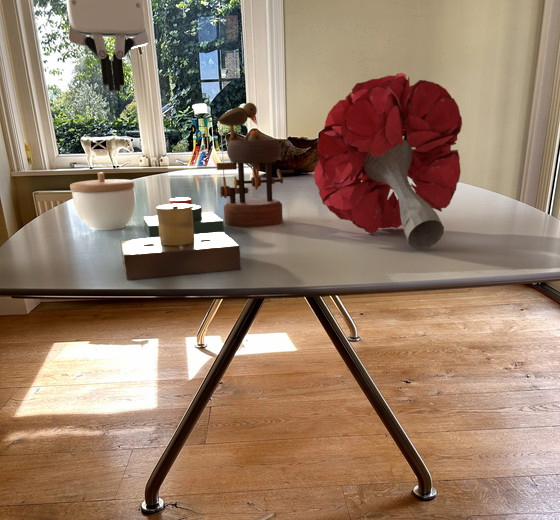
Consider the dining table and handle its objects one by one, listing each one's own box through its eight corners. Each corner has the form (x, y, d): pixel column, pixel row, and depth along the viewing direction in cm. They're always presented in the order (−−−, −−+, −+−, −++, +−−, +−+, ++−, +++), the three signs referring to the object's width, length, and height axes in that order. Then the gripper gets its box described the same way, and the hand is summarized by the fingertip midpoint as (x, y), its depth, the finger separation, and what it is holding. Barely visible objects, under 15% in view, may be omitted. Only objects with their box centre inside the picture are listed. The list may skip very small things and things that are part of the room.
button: (171, 212, 97) (170, 201, 96) (169, 209, 100) (168, 198, 100) (193, 210, 98) (192, 199, 97) (190, 207, 101) (189, 197, 100)
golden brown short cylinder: (158, 240, 78) (154, 202, 76) (192, 238, 79) (189, 200, 77) (161, 247, 74) (157, 207, 72) (197, 244, 75) (193, 204, 73)
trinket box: (94, 235, 99) (85, 176, 96) (66, 228, 107) (57, 173, 103) (150, 226, 106) (144, 171, 102) (120, 220, 113) (113, 168, 110)
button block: (150, 240, 95) (147, 214, 93) (144, 229, 103) (142, 206, 102) (224, 234, 98) (222, 209, 96) (212, 224, 106) (211, 201, 105)
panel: (127, 280, 71) (123, 253, 70) (122, 262, 80) (119, 239, 79) (240, 269, 75) (239, 244, 74) (224, 253, 84) (223, 230, 82)
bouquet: (482, 283, 91) (419, 167, 109) (534, 143, 72) (447, 30, 90) (344, 302, 89) (303, 181, 106) (361, 163, 70) (307, 44, 87)
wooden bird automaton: (227, 230, 100) (215, 100, 94) (209, 226, 110) (198, 108, 103) (309, 222, 105) (304, 98, 99) (285, 219, 115) (279, 106, 108)
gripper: (153, -51, 84) (163, 93, 91) (40, -60, 80) (60, 92, 87) (159, -67, 77) (170, 90, 84) (36, -76, 73) (58, 89, 80)
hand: (114, 90), depth 85 cm, fingers closed
